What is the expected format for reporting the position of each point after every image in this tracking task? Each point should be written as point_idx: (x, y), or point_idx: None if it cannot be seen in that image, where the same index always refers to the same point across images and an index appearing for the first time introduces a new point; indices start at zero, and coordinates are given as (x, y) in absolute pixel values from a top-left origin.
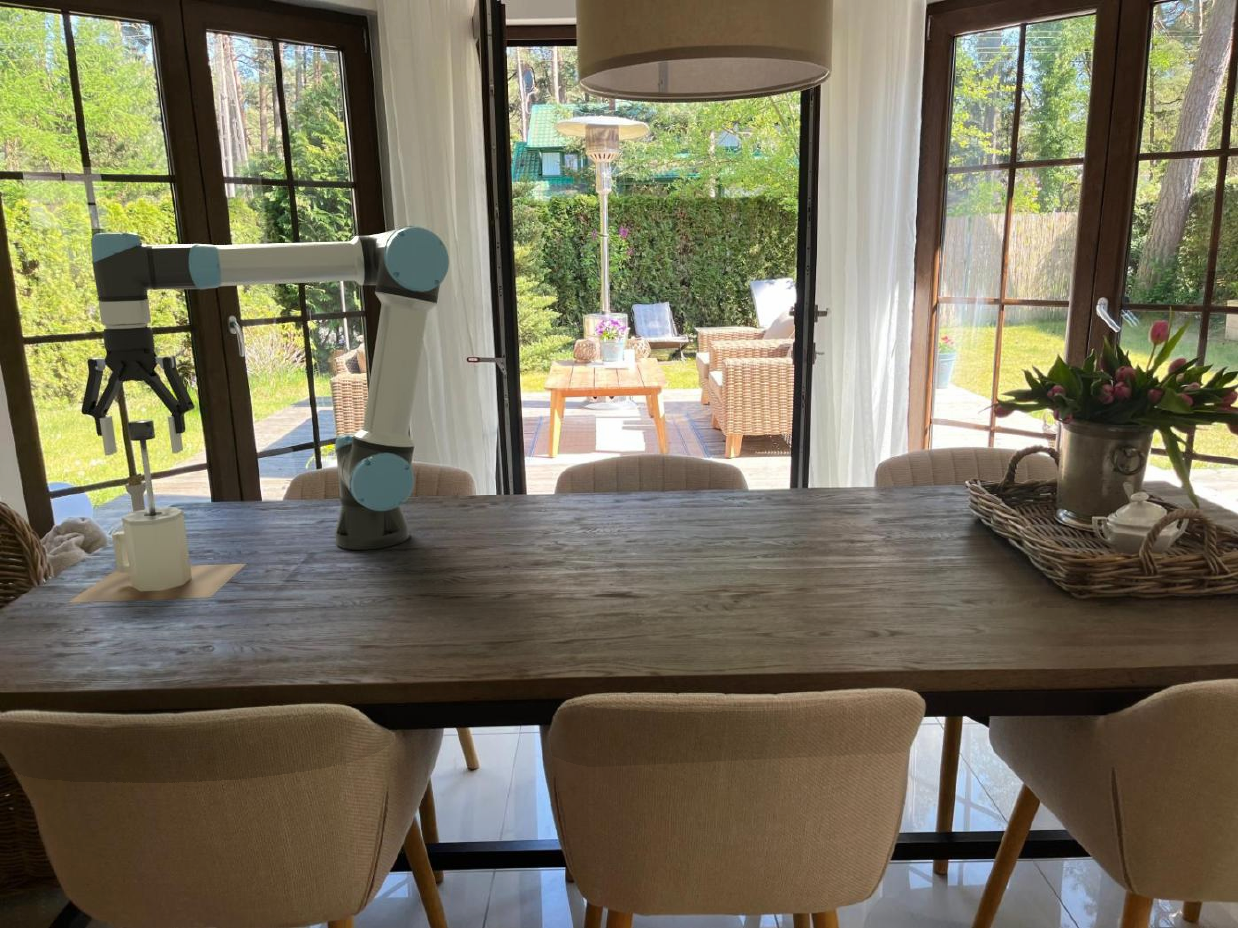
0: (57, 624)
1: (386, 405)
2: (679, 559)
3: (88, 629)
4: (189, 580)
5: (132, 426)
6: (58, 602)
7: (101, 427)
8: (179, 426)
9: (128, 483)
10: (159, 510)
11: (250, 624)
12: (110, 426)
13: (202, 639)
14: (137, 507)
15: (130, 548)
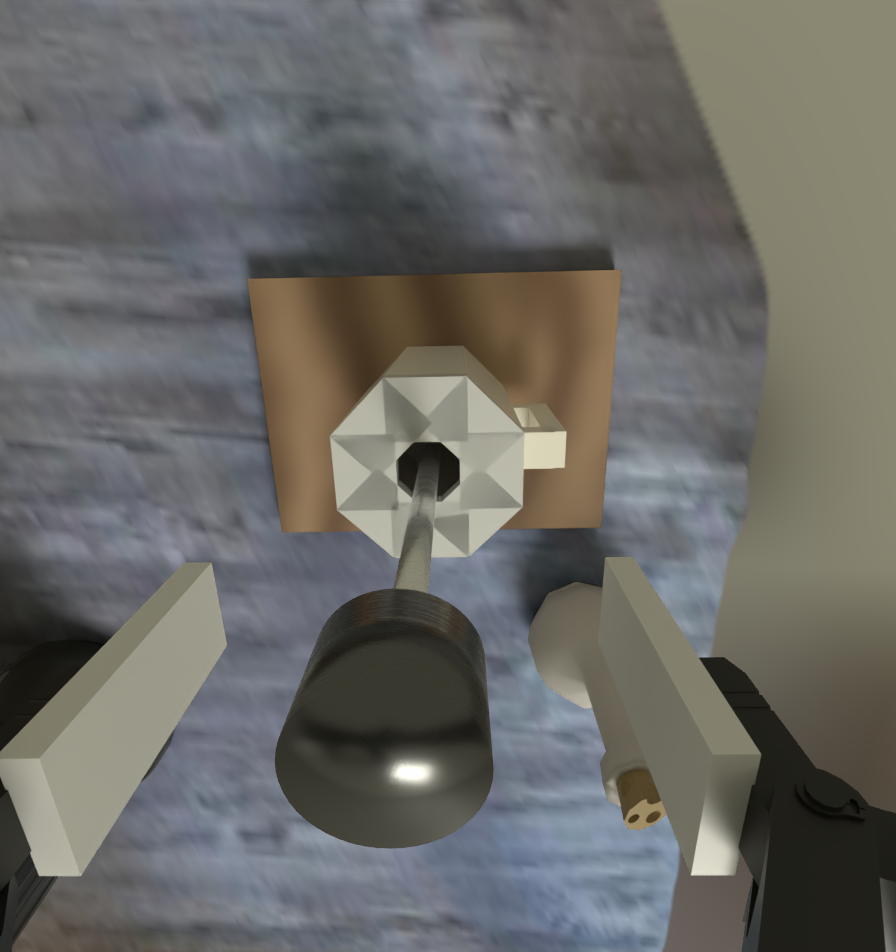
0: (601, 168)
1: None
2: None
3: (500, 120)
4: None
5: (410, 667)
6: (670, 339)
7: (711, 685)
8: (41, 705)
9: None
10: None
11: (78, 122)
12: (660, 750)
13: (148, 10)
14: (611, 709)
15: (488, 383)
